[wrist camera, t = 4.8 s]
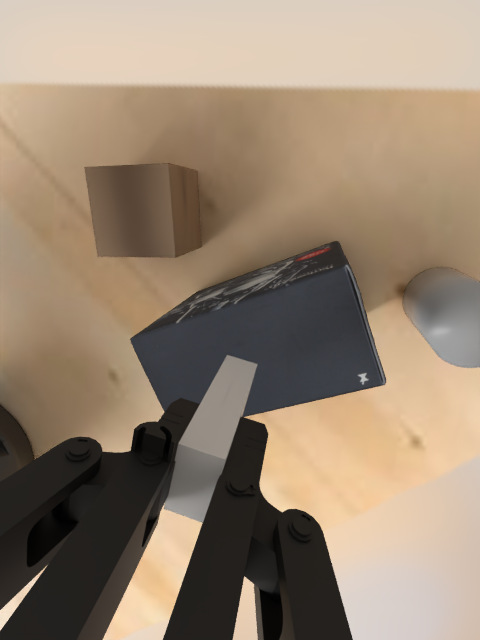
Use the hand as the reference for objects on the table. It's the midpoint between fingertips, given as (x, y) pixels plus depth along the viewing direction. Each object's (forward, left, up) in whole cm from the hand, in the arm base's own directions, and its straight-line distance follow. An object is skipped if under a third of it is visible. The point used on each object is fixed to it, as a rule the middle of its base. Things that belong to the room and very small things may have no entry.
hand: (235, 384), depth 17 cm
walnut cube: (-11, +5, -14) cm, 19 cm away
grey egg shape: (+12, +4, -14) cm, 19 cm away
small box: (0, 0, -15) cm, 15 cm away
